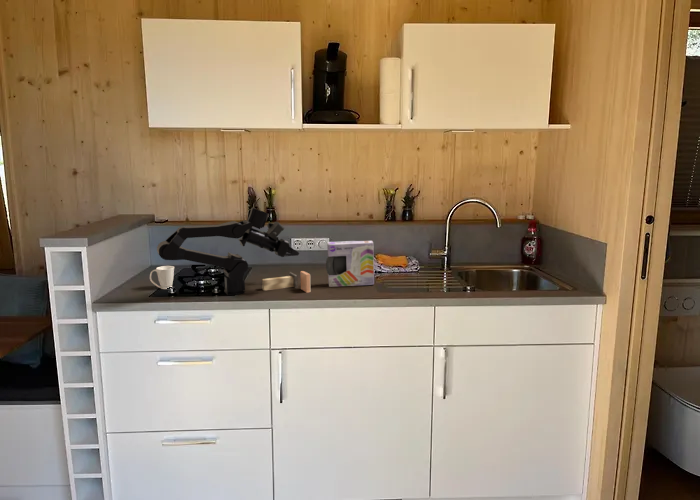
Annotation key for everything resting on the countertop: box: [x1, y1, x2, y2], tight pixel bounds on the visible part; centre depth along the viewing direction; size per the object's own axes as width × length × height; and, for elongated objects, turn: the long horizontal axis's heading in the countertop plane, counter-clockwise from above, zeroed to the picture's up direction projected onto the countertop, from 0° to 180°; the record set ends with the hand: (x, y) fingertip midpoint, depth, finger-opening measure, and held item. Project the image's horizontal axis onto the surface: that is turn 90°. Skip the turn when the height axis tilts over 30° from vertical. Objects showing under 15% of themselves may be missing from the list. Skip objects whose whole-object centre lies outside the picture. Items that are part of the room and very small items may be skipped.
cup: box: [149, 265, 175, 290], centre depth 196 cm, size 7×10×8 cm
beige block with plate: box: [261, 271, 299, 291], centre depth 196 cm, size 13×7×5 cm, turn 117°
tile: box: [300, 270, 311, 294], centre depth 192 cm, size 2×6×7 cm, turn 28°
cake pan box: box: [325, 240, 375, 288], centre depth 199 cm, size 19×5×18 cm, turn 95°
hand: (294, 252), depth 198 cm, fingers open, 9 cm apart
